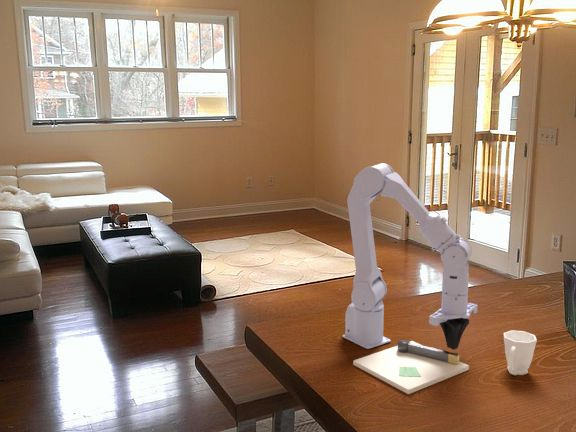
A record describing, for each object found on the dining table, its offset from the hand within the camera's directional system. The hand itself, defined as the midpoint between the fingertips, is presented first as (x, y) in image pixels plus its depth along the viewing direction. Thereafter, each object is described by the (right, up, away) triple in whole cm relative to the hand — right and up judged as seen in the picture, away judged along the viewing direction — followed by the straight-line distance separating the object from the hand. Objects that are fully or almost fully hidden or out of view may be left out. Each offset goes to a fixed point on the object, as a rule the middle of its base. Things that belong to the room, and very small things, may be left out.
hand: (452, 347), depth 136 cm
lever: (-6, -1, -2) cm, 7 cm away
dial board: (-11, -3, -5) cm, 13 cm away
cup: (+11, -4, -9) cm, 15 cm away
